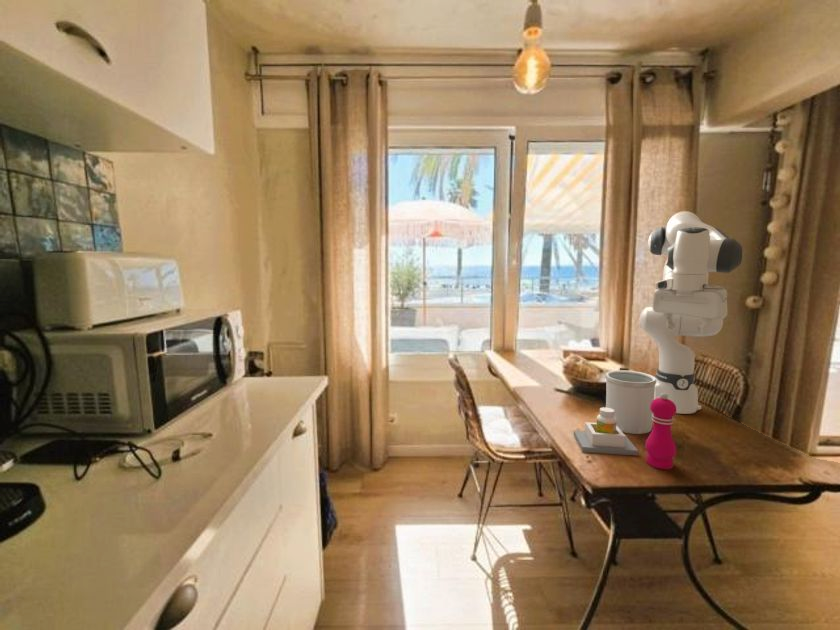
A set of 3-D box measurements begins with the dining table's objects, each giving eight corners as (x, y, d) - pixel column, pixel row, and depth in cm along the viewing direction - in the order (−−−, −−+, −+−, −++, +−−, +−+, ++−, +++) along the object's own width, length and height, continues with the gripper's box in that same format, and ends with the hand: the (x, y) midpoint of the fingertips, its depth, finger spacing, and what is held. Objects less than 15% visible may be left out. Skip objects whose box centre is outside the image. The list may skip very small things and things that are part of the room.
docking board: (573, 434, 125) (574, 419, 125) (623, 437, 123) (624, 422, 122) (582, 451, 114) (582, 435, 113) (637, 455, 111) (638, 438, 111)
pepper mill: (663, 457, 110) (668, 388, 108) (681, 470, 103) (686, 397, 101) (638, 457, 110) (642, 389, 108) (654, 470, 103) (659, 397, 100)
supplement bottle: (592, 440, 118) (594, 409, 116) (599, 435, 121) (601, 405, 120) (611, 446, 114) (613, 414, 113) (618, 440, 118) (619, 409, 116)
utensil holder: (626, 437, 123) (629, 384, 121) (594, 420, 137) (596, 371, 135) (664, 432, 127) (667, 379, 125) (628, 415, 141) (631, 368, 139)
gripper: (735, 285, 105) (731, 335, 106) (665, 282, 124) (662, 325, 126) (719, 286, 103) (715, 337, 104) (650, 283, 122) (647, 326, 123)
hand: (685, 330), depth 115 cm, fingers open, 8 cm apart
